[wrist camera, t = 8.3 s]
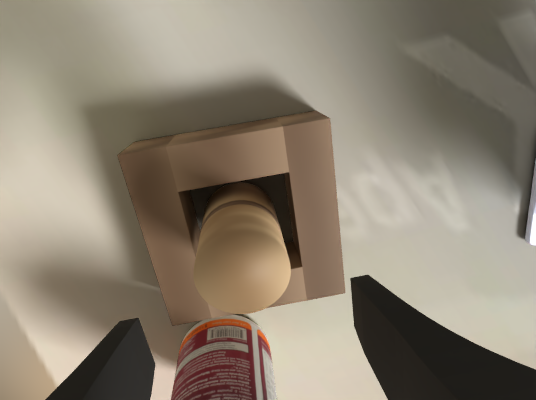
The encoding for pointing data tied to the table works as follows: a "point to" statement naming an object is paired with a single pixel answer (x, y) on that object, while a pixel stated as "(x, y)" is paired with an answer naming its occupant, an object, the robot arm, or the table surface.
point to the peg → (241, 251)
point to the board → (232, 170)
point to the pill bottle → (224, 362)
